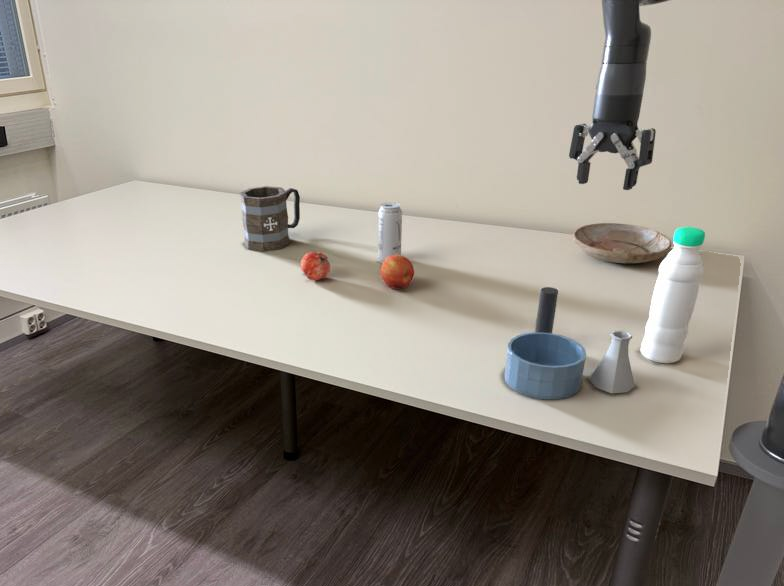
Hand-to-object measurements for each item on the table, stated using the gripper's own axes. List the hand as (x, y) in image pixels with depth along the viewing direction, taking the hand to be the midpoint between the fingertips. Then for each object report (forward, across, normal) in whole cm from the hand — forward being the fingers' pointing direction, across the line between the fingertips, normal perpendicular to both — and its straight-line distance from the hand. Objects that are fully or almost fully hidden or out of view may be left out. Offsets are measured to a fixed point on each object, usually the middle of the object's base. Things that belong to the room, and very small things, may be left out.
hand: (604, 186), depth 122 cm
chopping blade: (+31, +4, +8) cm, 32 cm away
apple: (+30, +45, +6) cm, 54 cm away
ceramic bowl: (+28, +18, -49) cm, 59 cm away
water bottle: (+31, -14, -4) cm, 34 cm away
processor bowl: (+31, -4, +20) cm, 37 cm away
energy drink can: (+29, +59, -6) cm, 66 cm away
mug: (+28, +95, +5) cm, 99 cm away
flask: (+32, -13, +12) cm, 36 cm away
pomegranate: (+29, +64, +16) cm, 72 cm away
